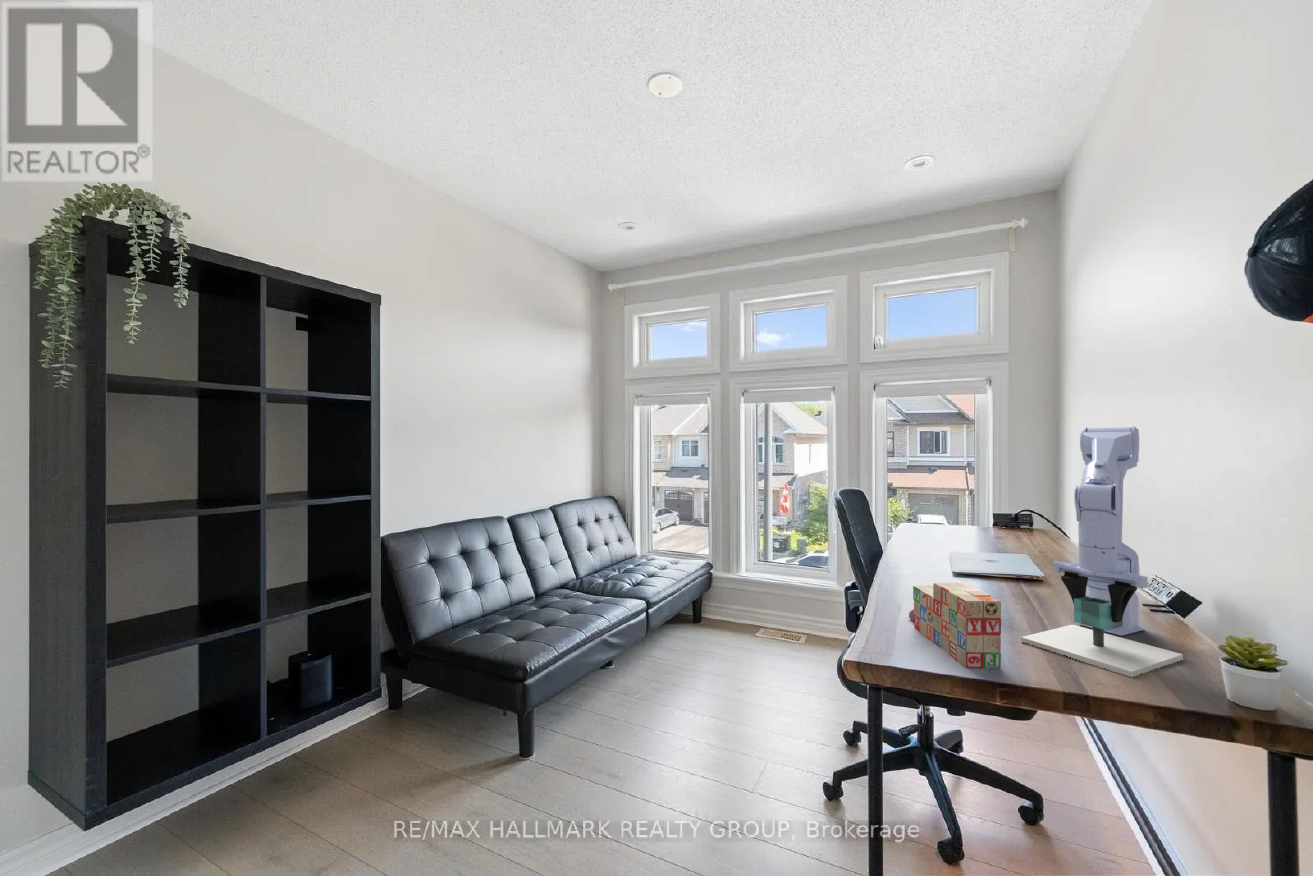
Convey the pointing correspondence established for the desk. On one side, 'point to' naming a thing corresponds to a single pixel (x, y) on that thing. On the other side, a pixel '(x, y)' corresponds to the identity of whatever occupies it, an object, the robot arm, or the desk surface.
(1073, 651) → the white square slab
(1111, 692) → the desk surface
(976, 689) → the desk surface
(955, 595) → the stack of blocks
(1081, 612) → the teal hollow square tube
